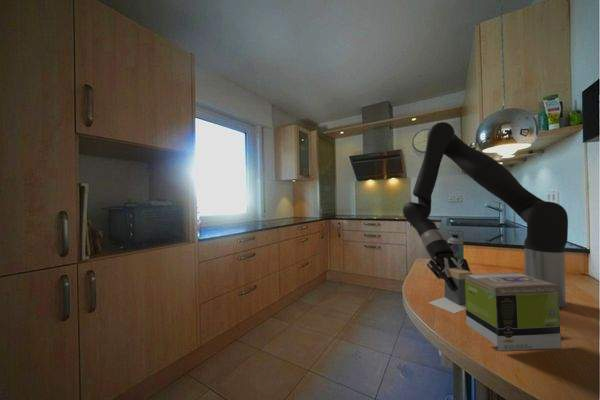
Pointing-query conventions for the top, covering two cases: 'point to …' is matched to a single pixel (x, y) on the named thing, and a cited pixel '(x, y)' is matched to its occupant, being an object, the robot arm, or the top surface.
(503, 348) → the tea box
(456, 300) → the block
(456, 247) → the spray can
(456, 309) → the board
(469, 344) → the top surface
